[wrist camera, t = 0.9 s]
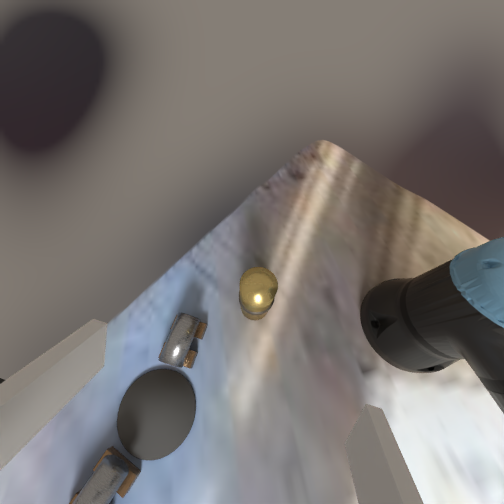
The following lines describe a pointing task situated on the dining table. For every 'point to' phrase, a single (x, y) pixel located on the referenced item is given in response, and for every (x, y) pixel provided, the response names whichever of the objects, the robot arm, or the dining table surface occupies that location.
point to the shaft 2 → (182, 341)
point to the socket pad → (156, 414)
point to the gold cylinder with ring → (257, 292)
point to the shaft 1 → (108, 479)
